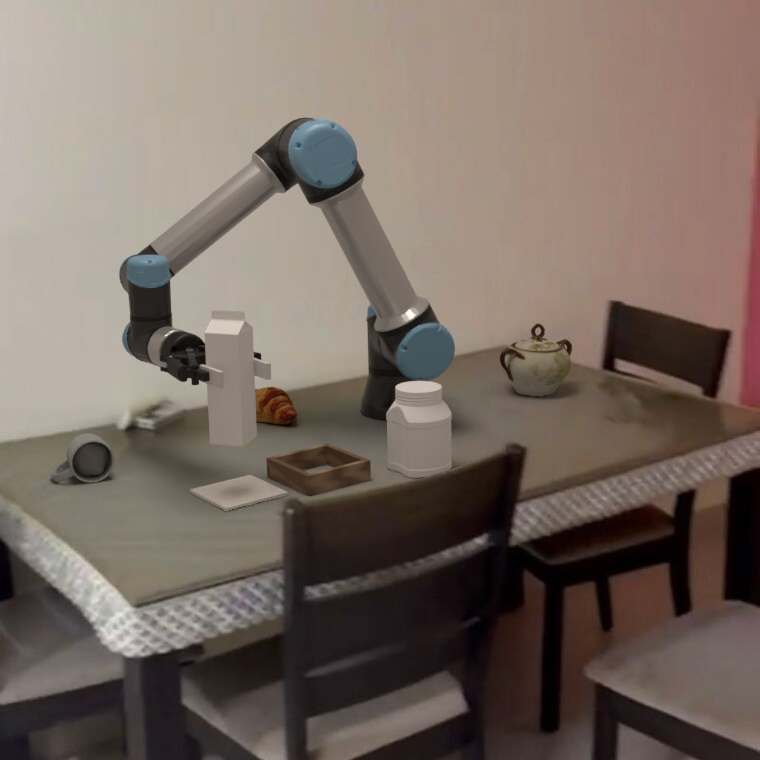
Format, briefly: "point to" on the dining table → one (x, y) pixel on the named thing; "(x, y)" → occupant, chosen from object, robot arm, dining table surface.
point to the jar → (419, 430)
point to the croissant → (274, 406)
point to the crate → (343, 473)
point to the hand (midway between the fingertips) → (245, 375)
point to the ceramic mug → (86, 460)
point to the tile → (238, 492)
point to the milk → (231, 379)
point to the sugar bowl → (536, 364)
